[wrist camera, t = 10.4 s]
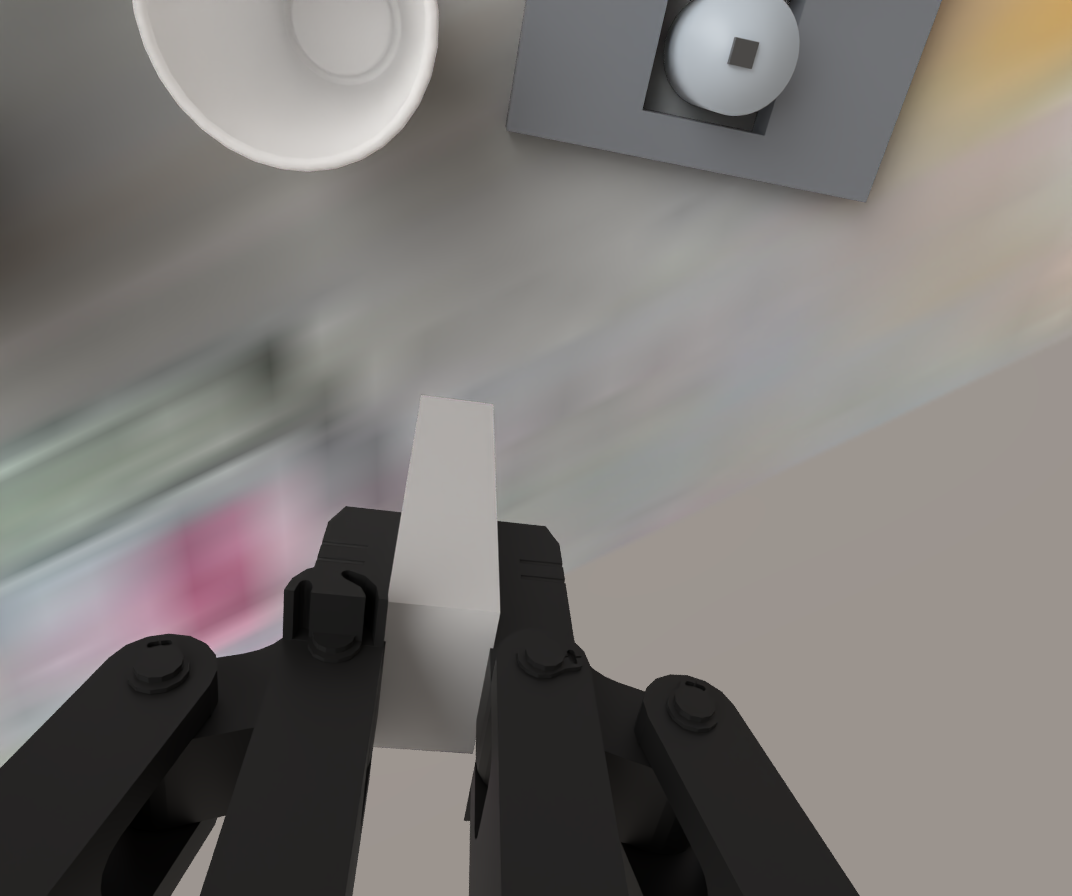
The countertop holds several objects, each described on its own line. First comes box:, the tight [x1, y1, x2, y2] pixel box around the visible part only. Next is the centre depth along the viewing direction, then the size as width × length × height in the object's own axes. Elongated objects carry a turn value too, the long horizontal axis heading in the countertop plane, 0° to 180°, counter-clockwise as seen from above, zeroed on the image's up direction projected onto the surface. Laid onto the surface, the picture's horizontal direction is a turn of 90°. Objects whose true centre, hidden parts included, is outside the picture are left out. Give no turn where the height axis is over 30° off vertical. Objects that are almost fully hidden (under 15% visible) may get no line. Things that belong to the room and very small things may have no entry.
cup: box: [132, 0, 439, 172], centre depth 30 cm, size 10×10×11 cm
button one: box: [664, 0, 800, 116], centre depth 34 cm, size 5×5×5 cm
